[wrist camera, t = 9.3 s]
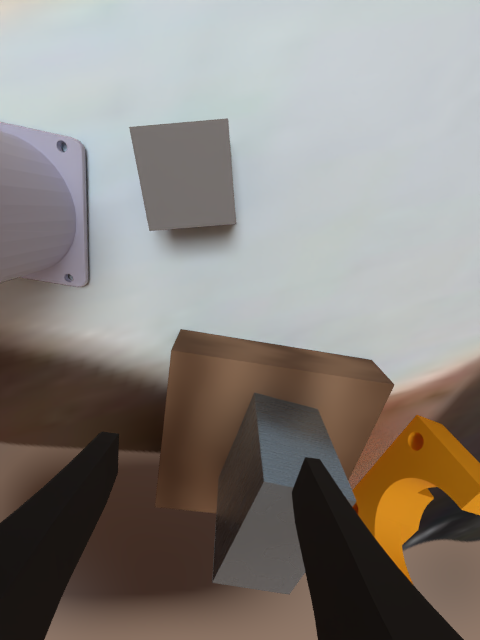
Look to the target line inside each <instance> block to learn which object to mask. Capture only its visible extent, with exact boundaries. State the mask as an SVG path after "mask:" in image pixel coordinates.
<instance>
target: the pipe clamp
mask: <svg viewBox="0 0 480 640" xmlns="http://www.w3.org/2000/svg"><path fill="white" fill-rule="evenodd" d="M430 487H439V488H440V489H441V490H443V491H444V492H445V493H446V494H447V495H449V496H450V497H451V498H452V499H453V500H454V501H455V502H456V504H457V505H458V506H459V507H460V509H462V510H465V511H468V512H471V513H474V514H478V515H480V463H479V462H478V461H477V460H476V459H475V458H474V457H473V456H472V455H471V454H470V453H469V452H468V451H467V450H466V449H465V448H464V447H463V446H462V445H461V444H460V442H459V441H458V440H457V439H456V438H455V437H454V436H453V435H452V434H451V433H450V432H449V431H448V430H447V429H446V428H445V427H444V426H443V425H442V424H440V423H437V422H434V421H432V420H429V419H426V418H424V417H421V416H419V415H416V416H415V418H414V419H413V420H412V421H411V422H410V423H409V425H408V426H407V427H406V428H405V429H404V430H403V432H402V433H401V434H400V435H399V436H398V437H397V439H396V440H395V441H394V442H393V443H392V444H391V446H390V447H389V448H388V449H387V450H386V452H385V453H384V454H383V455H382V456H381V457H380V459H379V460H378V461H377V462H376V463H375V464H374V466H373V467H372V468H371V469H370V470H369V471H368V473H367V474H366V475H365V476H364V477H363V478H362V480H361V481H360V482H359V483H358V484H357V486H356V487H355V488H354V489H353V490H352V491H353V494H354V496H355V499H356V503H355V504H354V505H353V509H354V510H355V511H356V513H357V514H358V516H359V517H360V518H361V520H362V521H363V523H364V524H365V525H366V527H367V528H368V529H369V531H370V532H371V534H372V535H373V536H374V537H375V539H376V540H377V541H378V543H379V544H380V545H381V547H382V548H383V549H384V550H385V552H386V553H387V554H388V555H389V557H390V558H391V559H392V560H393V562H394V563H395V564H396V565H397V566H398V568H399V569H400V570H401V571H402V572H403V574H404V575H405V576H406V577H407V578H408V579H409V581H410V582H411V583H412V581H411V578H410V576H409V573H408V571H407V567H406V564H405V561H404V556H403V551H402V544H403V543H404V542H406V541H407V540H408V539H409V538H410V537H411V536H412V535H413V534H414V533H415V532H416V531H417V530H418V528H419V523H420V519H421V516H422V513H423V511H424V509H425V508H426V506H427V505H428V504H429V503H430V502H431V501H432V500H433V499H434V497H433V496H432V495H431V493H430V492H429V490H428V489H427V488H430ZM412 584H413V583H412Z"/></svg>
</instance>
